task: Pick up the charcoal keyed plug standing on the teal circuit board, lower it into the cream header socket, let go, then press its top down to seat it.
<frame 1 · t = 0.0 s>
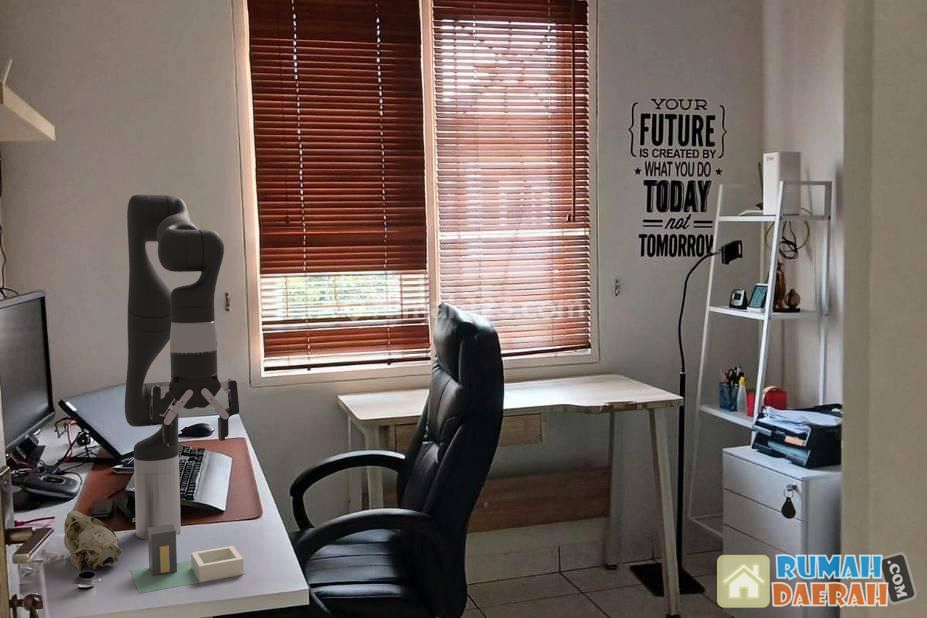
hand: (196, 442, 144), 29 cm above the table, tool pointing down, fingers open, 8 cm apart
board: (188, 577, 160), on the table
plug: (163, 570, 161), point 1 cm above the table, touching board
header: (217, 571, 161), resting on board
skull: (89, 567, 166), on the table
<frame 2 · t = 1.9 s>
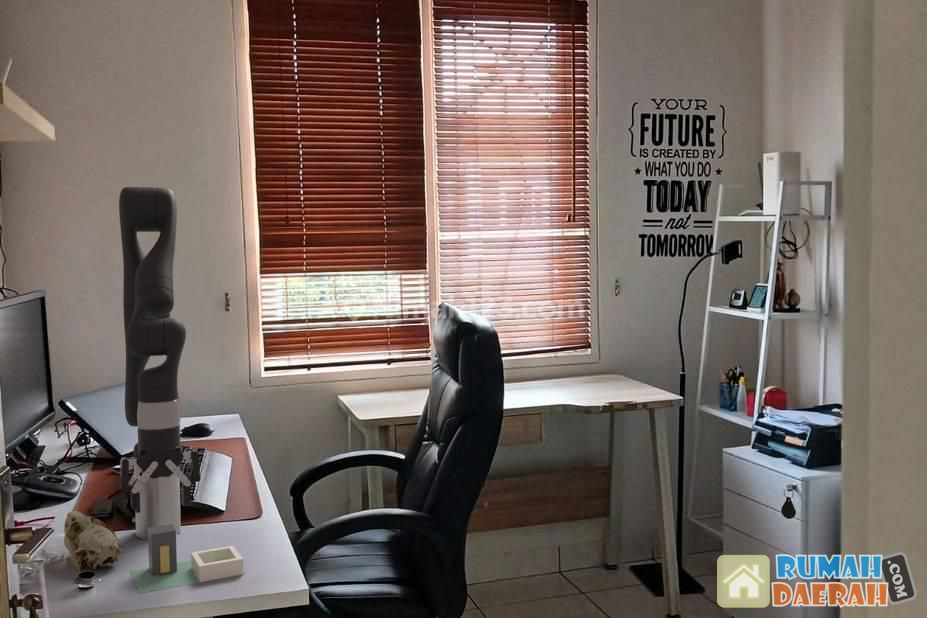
hand: (161, 508, 160), 13 cm above the table, tool pointing down, fingers open, 8 cm apart
nothing on the table moved.
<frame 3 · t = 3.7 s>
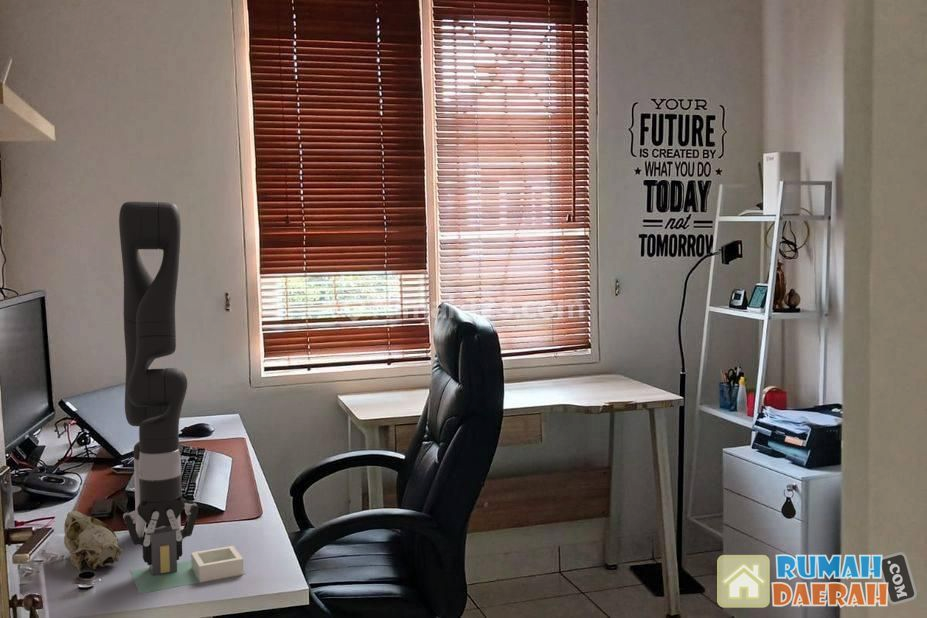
hand: (162, 560, 161), 3 cm above the table, tool pointing down, fingers closed on plug, 4 cm apart
plug: (163, 570, 161), point 1 cm above the table, touching board, gripper
everything else where it was.
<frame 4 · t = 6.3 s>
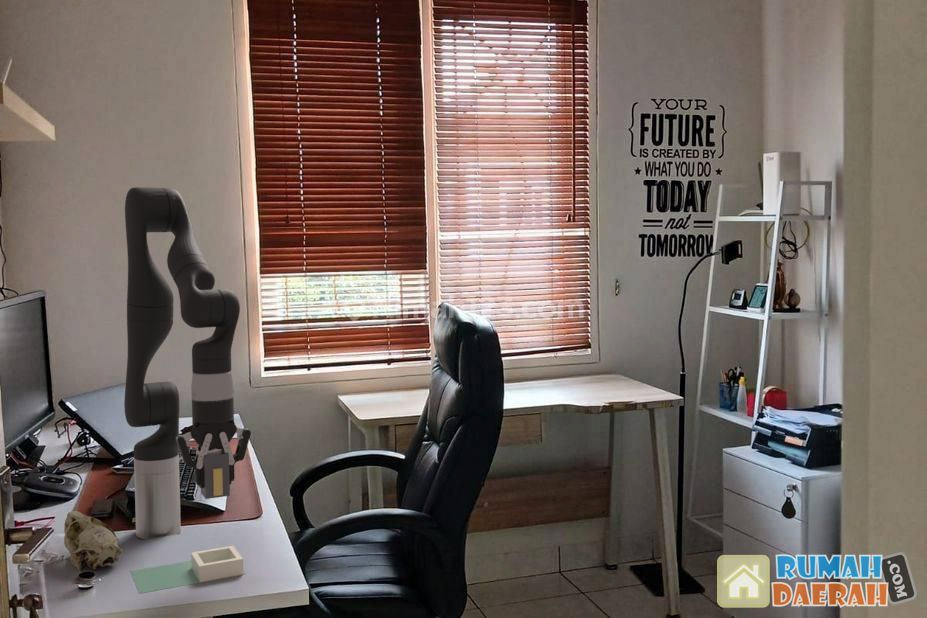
hand: (214, 485, 160), 18 cm above the table, tool pointing down, fingers closed on plug, 4 cm apart
plug: (215, 494, 160), point 16 cm above the table, touching gripper
everything else where it was.
when the fingers open (5 cm above the table, at t = 9.0 s): plug drops 2 cm, resting on board.
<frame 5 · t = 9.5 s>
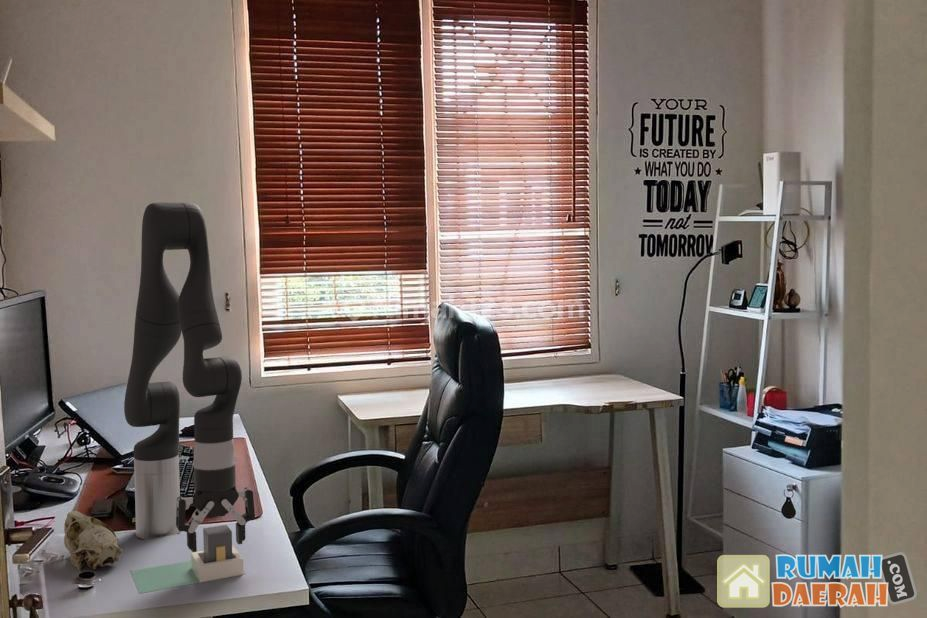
hand: (216, 546, 160), 6 cm above the table, tool pointing down, fingers open, 8 cm apart
plug: (218, 570, 161), point 1 cm above the table, touching board
everything else where it was.
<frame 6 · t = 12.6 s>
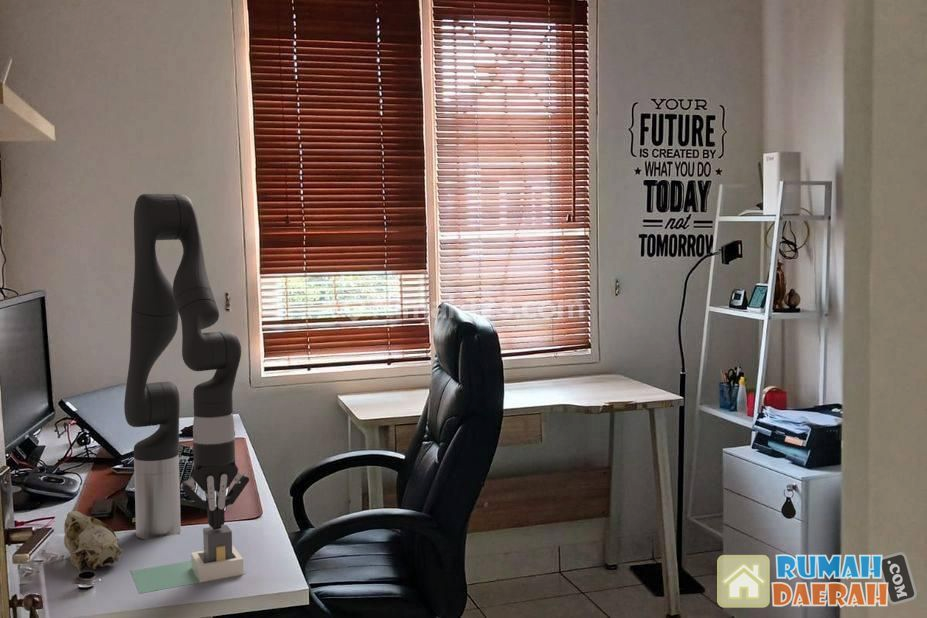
hand: (216, 527, 160), 9 cm above the table, tool pointing down, fingers closed
nothing on the table moved.
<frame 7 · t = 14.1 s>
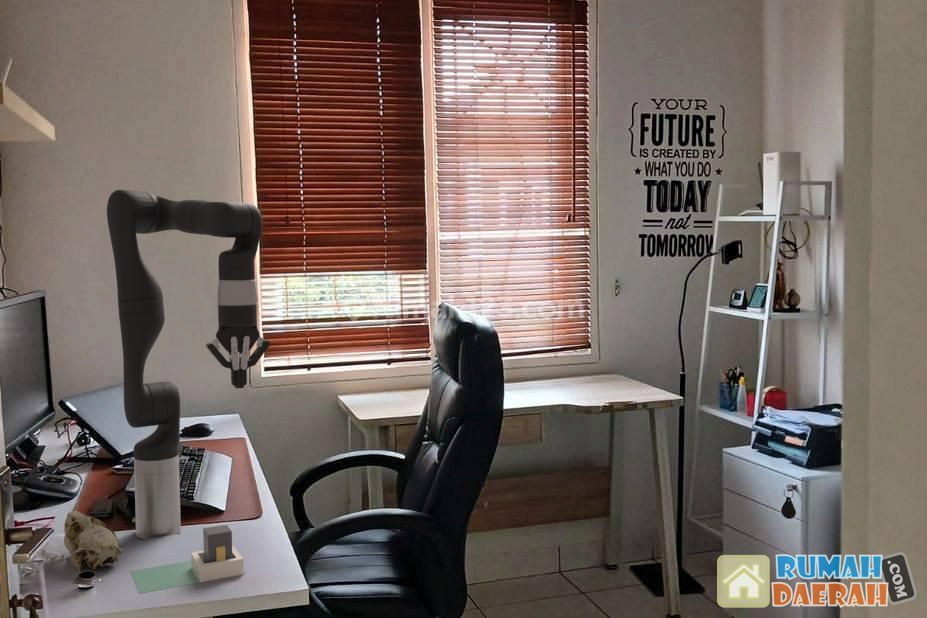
hand: (239, 387, 171), 34 cm above the table, tool pointing down, fingers closed
nothing on the table moved.
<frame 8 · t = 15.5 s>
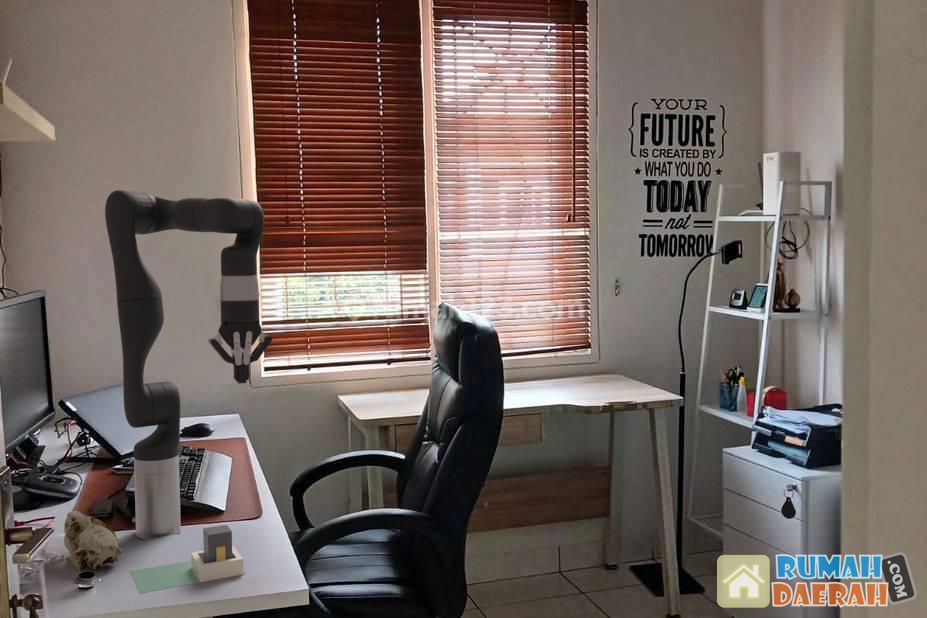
hand: (241, 382, 172), 35 cm above the table, tool pointing down, fingers closed
nothing on the table moved.
at the end: plug 0.2 cm off-centre on the header, point 0.0 cm above the header's base; plug tilted 0°; the gripper is holding nothing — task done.
